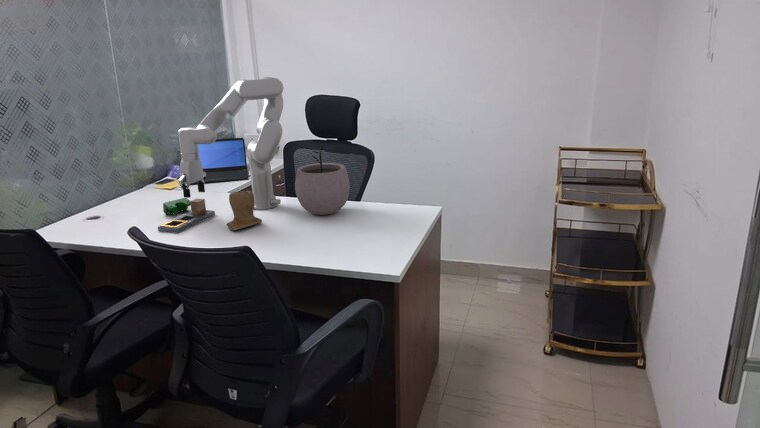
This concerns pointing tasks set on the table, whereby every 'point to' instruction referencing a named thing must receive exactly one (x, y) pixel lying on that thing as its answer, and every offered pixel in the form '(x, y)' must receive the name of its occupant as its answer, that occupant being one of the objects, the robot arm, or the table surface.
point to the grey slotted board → (184, 222)
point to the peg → (198, 206)
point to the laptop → (224, 160)
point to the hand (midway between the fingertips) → (194, 194)
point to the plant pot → (322, 187)
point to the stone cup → (242, 210)
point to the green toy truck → (176, 206)
